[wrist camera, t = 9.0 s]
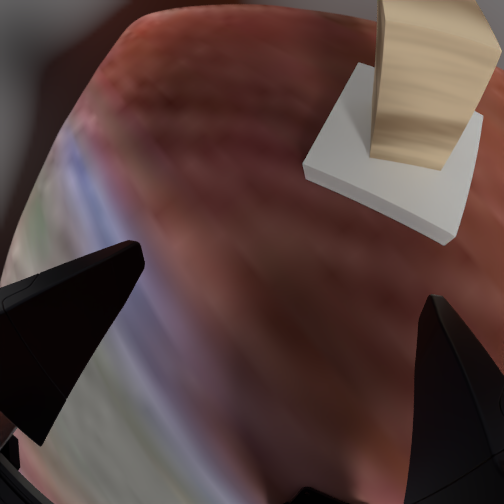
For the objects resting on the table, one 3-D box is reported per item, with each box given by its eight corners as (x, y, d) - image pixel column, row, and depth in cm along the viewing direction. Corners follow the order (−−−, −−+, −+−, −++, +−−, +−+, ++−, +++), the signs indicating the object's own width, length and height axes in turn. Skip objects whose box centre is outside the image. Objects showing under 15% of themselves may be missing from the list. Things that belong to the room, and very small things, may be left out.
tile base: (474, 131, 21) (483, 115, 19) (444, 245, 20) (455, 236, 18) (358, 80, 25) (358, 62, 22) (305, 179, 24) (302, 163, 21)
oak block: (440, 170, 19) (502, 51, 7) (369, 157, 20) (385, 20, 9) (435, 112, 20) (471, -6, 8) (371, 101, 21) (377, -28, 10)
